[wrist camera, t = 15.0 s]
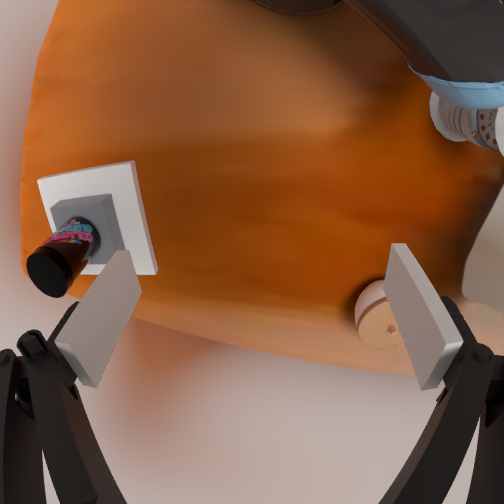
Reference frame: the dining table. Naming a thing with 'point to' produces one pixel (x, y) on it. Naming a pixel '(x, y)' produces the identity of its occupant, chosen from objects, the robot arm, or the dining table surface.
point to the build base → (123, 204)
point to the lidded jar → (376, 319)
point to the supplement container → (63, 256)
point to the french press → (469, 123)
